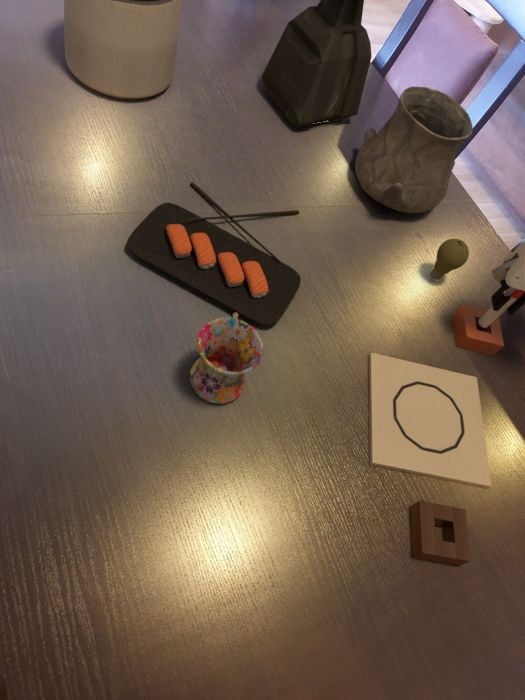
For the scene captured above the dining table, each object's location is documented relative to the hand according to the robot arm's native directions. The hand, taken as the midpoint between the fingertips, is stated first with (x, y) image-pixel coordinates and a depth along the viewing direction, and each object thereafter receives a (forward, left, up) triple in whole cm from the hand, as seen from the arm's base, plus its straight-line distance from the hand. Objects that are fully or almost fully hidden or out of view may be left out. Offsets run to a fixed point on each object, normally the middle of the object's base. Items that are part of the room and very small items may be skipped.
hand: (501, 305), depth 98 cm
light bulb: (+7, -12, -9) cm, 17 cm away
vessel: (+16, -35, -9) cm, 40 cm away
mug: (+46, +20, -9) cm, 51 cm away
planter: (+77, -48, -9) cm, 91 cm away
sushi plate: (+47, -8, -9) cm, 48 cm away
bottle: (+36, -55, -9) cm, 66 cm away
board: (+11, +20, -9) cm, 25 cm away
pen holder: (0, 0, -9) cm, 9 cm away
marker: (0, 0, -7) cm, 7 cm away
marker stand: (+11, +39, -9) cm, 42 cm away
